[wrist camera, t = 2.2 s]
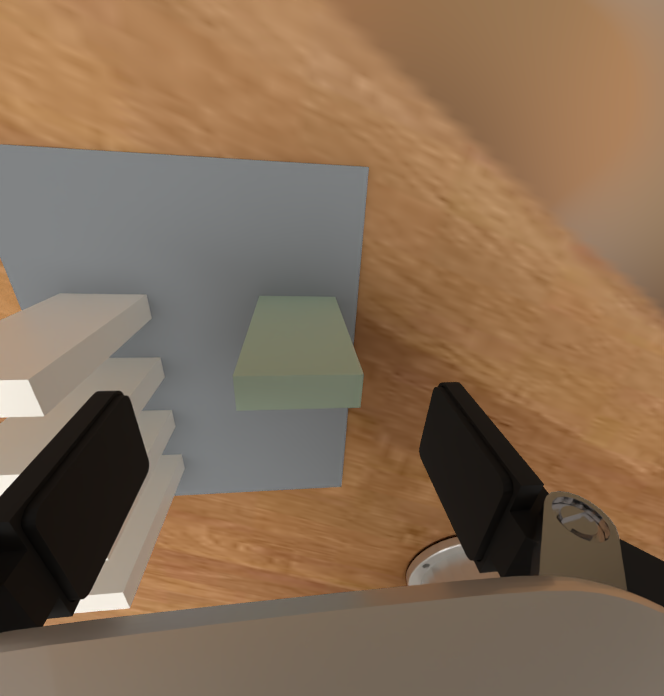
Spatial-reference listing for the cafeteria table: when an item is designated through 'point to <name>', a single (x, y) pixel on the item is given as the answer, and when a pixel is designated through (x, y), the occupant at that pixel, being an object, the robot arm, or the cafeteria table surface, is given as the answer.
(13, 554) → the robot arm
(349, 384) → the domino end
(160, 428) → the domino
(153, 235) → the slate mat
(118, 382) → the domino
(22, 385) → the domino
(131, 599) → the domino
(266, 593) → the cafeteria table surface
